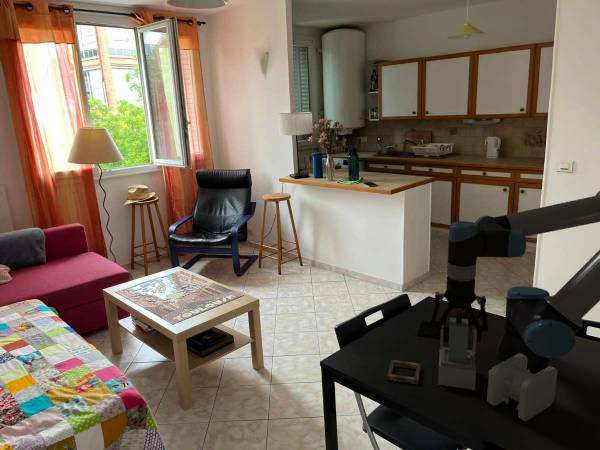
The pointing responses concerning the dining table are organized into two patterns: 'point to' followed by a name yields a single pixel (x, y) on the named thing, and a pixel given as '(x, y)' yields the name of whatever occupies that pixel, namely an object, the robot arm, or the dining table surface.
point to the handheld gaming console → (427, 329)
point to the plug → (458, 339)
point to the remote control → (467, 316)
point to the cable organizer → (522, 386)
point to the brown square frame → (404, 378)
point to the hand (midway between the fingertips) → (457, 349)
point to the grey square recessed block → (457, 371)
